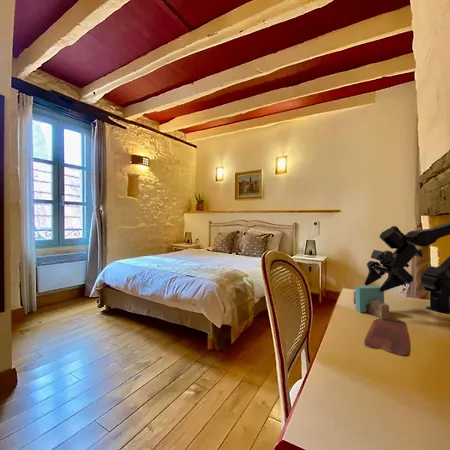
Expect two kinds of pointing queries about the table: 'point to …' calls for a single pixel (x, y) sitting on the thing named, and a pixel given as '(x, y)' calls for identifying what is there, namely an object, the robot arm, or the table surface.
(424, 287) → the robot arm
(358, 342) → the table surface
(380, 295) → the teal flat block
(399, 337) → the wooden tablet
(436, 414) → the table surface
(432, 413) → the table surface
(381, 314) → the walnut notched bar
